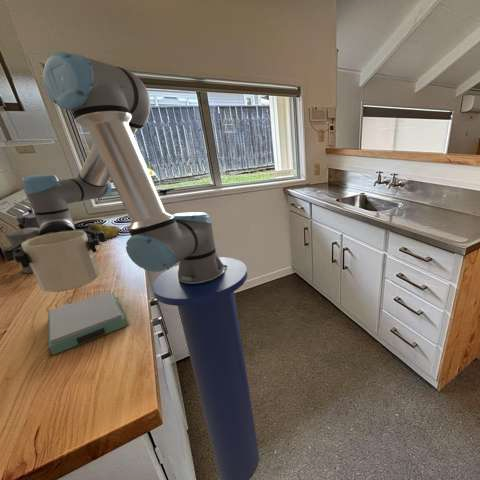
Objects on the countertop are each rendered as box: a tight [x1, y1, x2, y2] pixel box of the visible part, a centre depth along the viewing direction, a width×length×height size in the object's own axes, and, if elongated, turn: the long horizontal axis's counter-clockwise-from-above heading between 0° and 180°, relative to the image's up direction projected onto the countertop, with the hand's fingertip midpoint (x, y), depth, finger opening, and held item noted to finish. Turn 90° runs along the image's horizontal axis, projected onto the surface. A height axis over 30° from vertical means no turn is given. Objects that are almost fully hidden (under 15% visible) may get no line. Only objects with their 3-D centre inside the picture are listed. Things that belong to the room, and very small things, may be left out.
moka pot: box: [15, 208, 40, 228], centre depth 109 cm, size 10×15×20 cm, turn 33°
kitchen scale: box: [47, 290, 128, 356], centre depth 67 cm, size 14×19×3 cm
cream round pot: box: [21, 230, 101, 293], centre depth 63 cm, size 11×11×12 cm
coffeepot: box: [4, 223, 40, 274], centre depth 97 cm, size 15×9×18 cm, turn 94°
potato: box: [87, 223, 121, 239], centre depth 131 cm, size 8×13×8 cm, turn 133°
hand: (60, 254), depth 59 cm, fingers closed on cream round pot, 11 cm apart
